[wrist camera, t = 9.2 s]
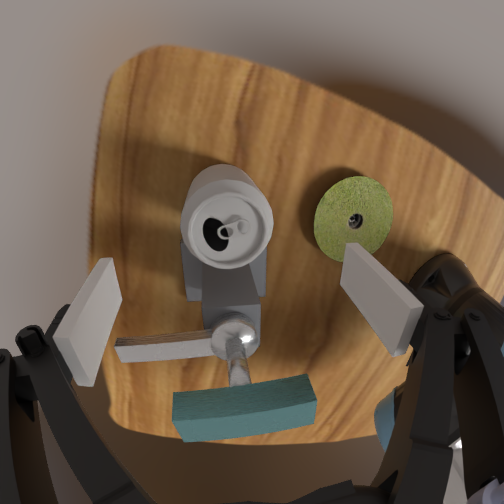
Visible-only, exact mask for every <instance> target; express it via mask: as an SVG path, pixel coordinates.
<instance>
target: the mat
mask: <svg viewBox="0 0 504 504" xmlns="http://www.w3.org/2000/svg"><path fill="white" fill-rule="evenodd" d="M392 221H393V207H392V201H391V198H390V196H389V194H388V192H387V191H386V190H385V188H384V187H383V186H382V185H381V184H380V183H379V182H377V181H376V180H374V179H371V178H369V177H363V176H353V177H349V178H346V179H344V180H341V181H340V182H338V183H337V184H335V185H333V186H332V187H331V188H330V189H329V190H328V191H327V192H326V193H325V194H324V196H323V197H322V199H321V200H320V202H319V204H318V207H317V209H316V212H315V219H314V234H315V238H316V241H317V244H318V245H319V247H320V249H321V250H322V251H323V252H324V253H325V254H326V255H327V256H328V257H330V258H332V259H333V260H336V261H339V262H343V261H344V255H345V248H346V243H358V244H360V245H361V246H362V247H363V248H364V249H365V250H366V251H367V252H368V253H370V254H373V253H374V252H375V251H376V250H378V248H379V247H380V246H381V245H382V244H383V242H384V240H385V239H386V237H387V235H388V233H389V231H390V228H391V224H392Z"/></svg>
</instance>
